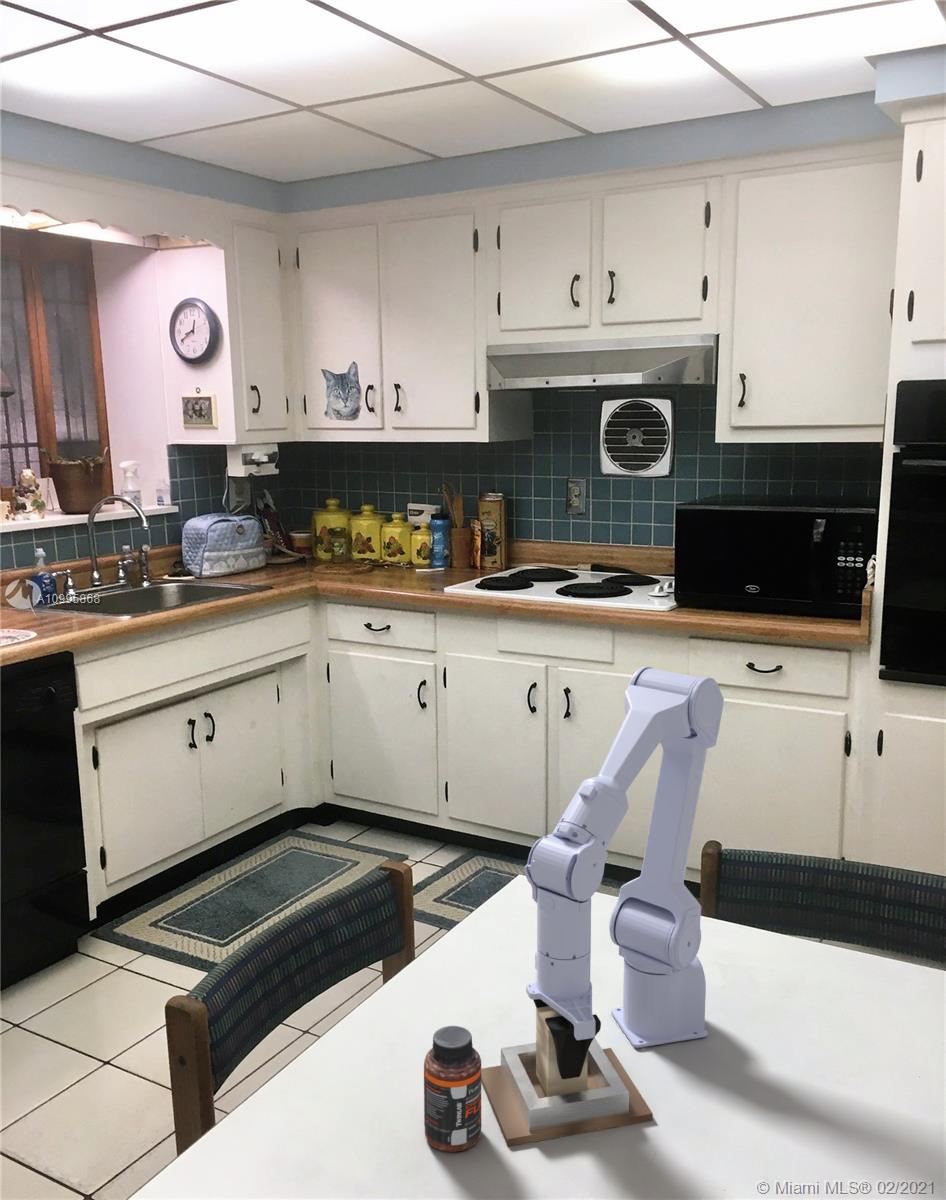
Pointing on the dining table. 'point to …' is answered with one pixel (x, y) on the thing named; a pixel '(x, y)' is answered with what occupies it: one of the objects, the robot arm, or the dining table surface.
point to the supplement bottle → (452, 1091)
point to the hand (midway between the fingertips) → (562, 1062)
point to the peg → (553, 1060)
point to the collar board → (560, 1097)
